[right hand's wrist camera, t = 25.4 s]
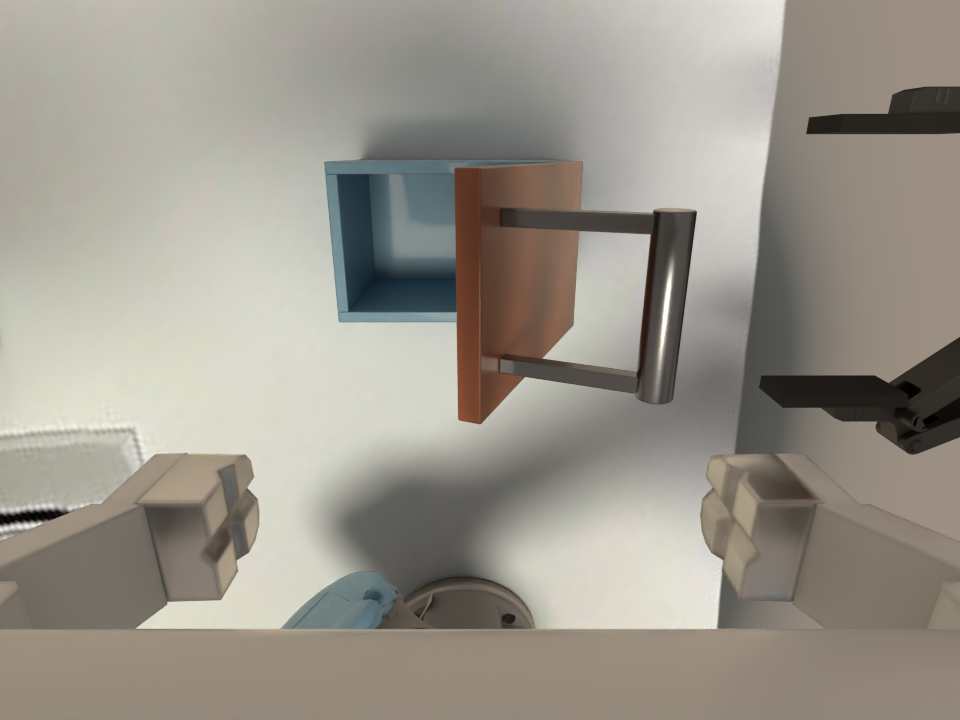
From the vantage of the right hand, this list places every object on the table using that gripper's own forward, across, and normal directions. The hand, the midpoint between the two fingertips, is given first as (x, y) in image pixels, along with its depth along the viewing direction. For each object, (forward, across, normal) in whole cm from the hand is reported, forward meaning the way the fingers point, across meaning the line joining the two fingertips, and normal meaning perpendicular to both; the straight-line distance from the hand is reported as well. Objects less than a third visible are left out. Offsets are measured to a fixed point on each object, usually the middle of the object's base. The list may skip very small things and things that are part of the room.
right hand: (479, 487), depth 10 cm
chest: (+38, -2, 0) cm, 38 cm away
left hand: (+20, +16, 0) cm, 26 cm away
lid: (+20, +2, 0) cm, 20 cm away
